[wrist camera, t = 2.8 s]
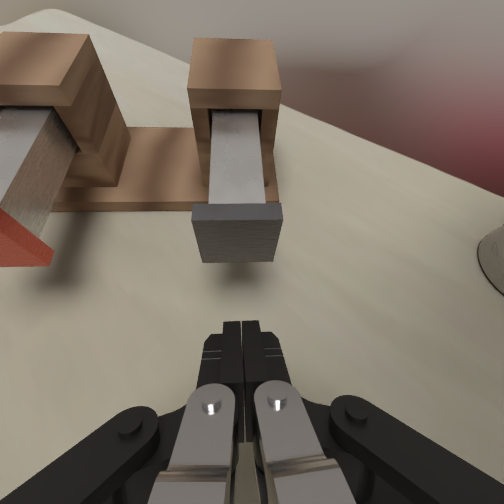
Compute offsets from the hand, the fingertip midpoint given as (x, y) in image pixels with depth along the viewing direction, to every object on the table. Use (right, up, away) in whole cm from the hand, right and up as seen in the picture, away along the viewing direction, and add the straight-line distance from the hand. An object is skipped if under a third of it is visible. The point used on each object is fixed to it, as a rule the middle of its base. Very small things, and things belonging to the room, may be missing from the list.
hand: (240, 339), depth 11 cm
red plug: (-17, +9, +11) cm, 22 cm away
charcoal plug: (-1, +10, +12) cm, 15 cm away
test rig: (-9, +13, +20) cm, 26 cm away
